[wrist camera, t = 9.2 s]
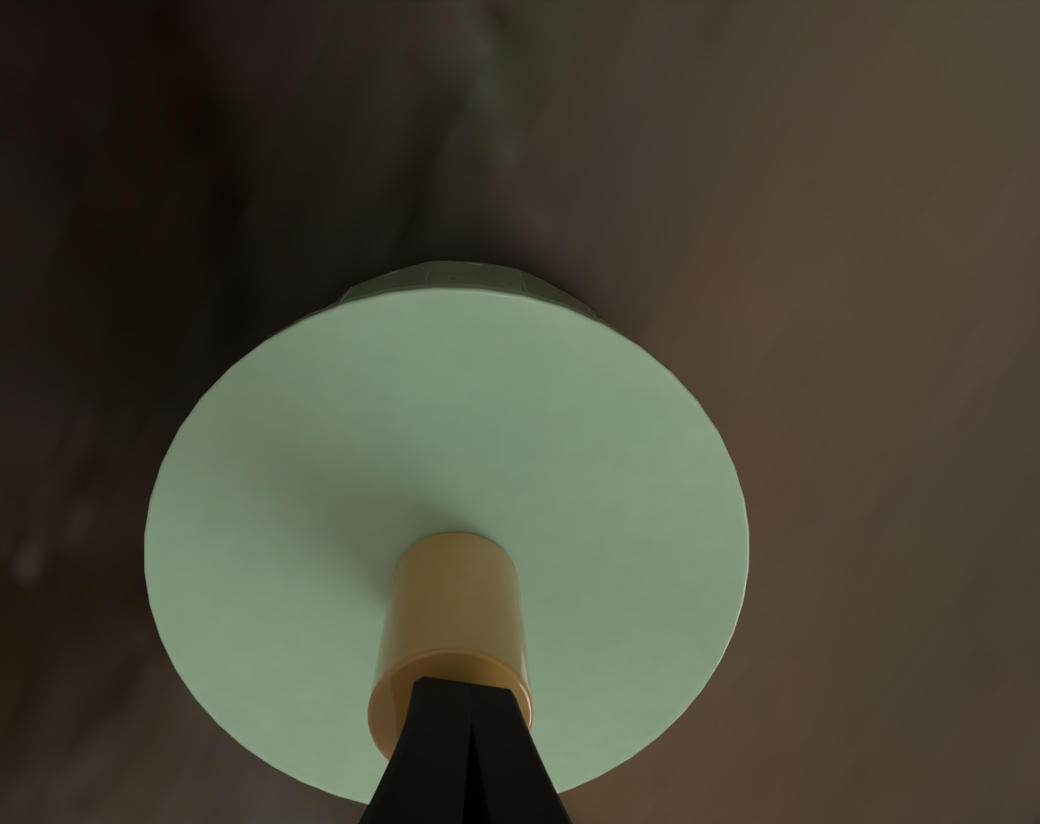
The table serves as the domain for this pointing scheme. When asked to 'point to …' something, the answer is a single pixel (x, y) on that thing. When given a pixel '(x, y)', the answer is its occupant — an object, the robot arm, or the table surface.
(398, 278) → the pot
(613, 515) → the lid
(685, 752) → the table surface
